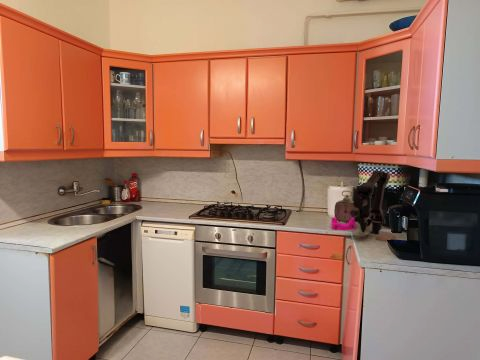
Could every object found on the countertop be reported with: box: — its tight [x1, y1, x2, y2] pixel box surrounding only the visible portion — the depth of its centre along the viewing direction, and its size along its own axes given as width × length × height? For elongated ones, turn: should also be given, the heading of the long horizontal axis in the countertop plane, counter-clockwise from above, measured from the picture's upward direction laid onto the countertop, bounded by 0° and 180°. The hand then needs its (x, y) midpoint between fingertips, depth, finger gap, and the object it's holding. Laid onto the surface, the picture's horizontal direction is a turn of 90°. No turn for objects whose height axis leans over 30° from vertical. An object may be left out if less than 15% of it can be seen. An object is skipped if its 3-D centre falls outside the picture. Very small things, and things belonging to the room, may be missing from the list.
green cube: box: [359, 225, 371, 236], centre depth 189 cm, size 4×4×4 cm
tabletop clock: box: [334, 190, 359, 227], centre depth 219 cm, size 14×9×25 cm, turn 59°
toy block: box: [330, 216, 357, 231], centre depth 211 cm, size 15×6×8 cm, turn 83°
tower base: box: [374, 233, 397, 243], centre depth 186 cm, size 9×9×3 cm
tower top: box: [379, 228, 396, 238], centre depth 186 cm, size 7×7×3 cm
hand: (364, 231), depth 189 cm, fingers closed on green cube, 4 cm apart
